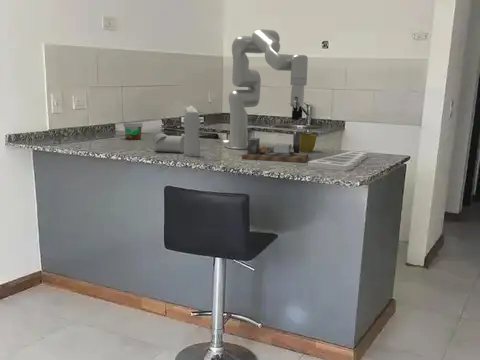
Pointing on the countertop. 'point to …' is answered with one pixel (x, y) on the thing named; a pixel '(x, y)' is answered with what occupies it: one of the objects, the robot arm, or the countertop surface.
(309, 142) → the flower pot
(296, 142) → the ram
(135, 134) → the food container
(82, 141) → the countertop surface
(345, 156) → the holder
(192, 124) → the tall pale column
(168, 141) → the bent grey cylinder
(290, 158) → the press base
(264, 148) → the nut
